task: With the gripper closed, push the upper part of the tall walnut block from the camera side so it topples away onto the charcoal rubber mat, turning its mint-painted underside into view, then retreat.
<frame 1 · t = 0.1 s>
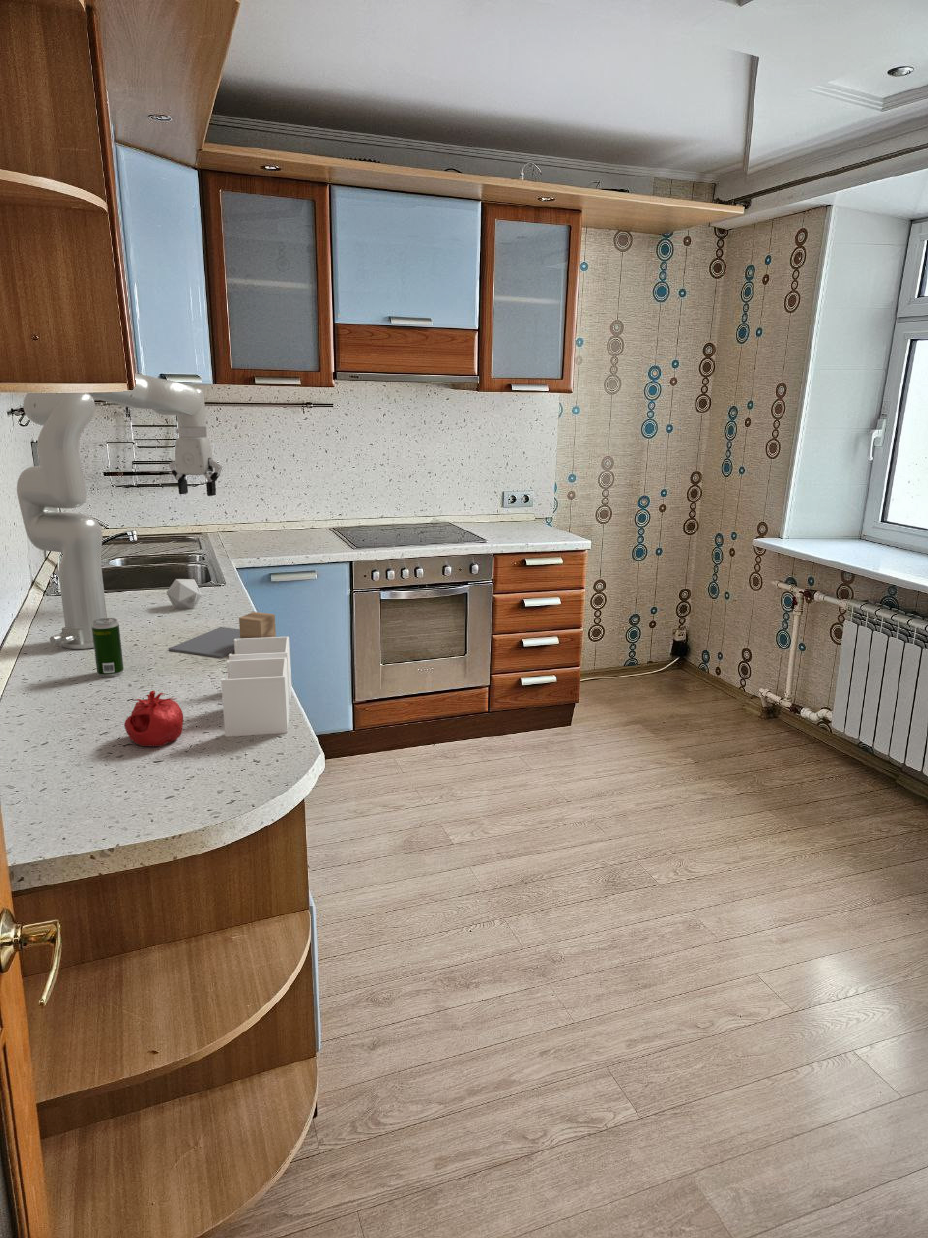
hand: (197, 494, 230), 31 cm above the countertop, fingers open, 9 cm apart
beer can: (110, 674, 176), on the countertop
block: (258, 647, 195), on the countertop
pomegranate: (156, 740, 143), on the countertop
die: (185, 608, 230), on the countertop
storage container: (261, 710, 157), on the countertop
mat: (221, 642, 198), on the countertop
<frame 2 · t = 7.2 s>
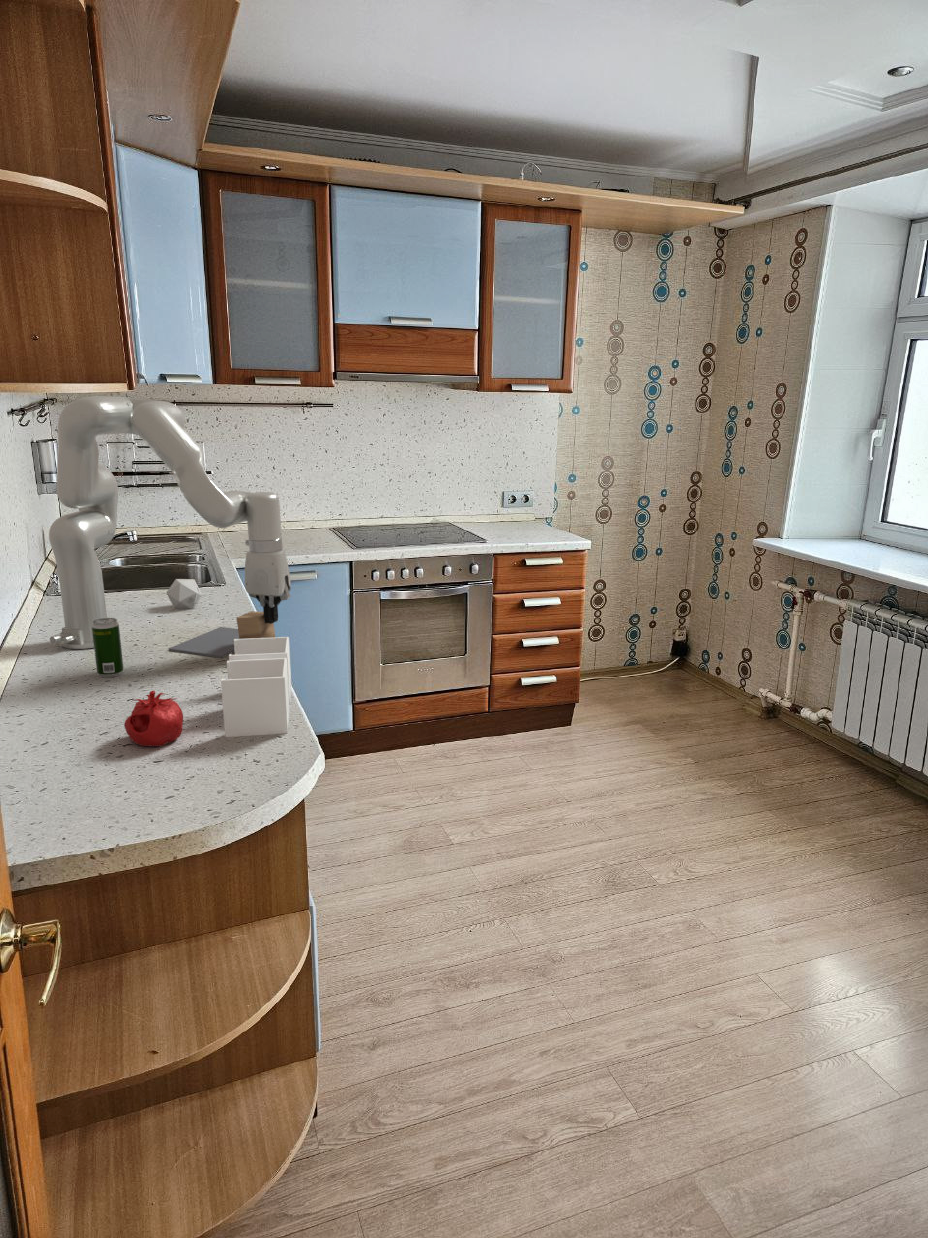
hand: (271, 621, 192), 7 cm above the countertop, fingers closed
block: (258, 646, 195), on the countertop, tilted 5°, touching gripper
everything else where it was.
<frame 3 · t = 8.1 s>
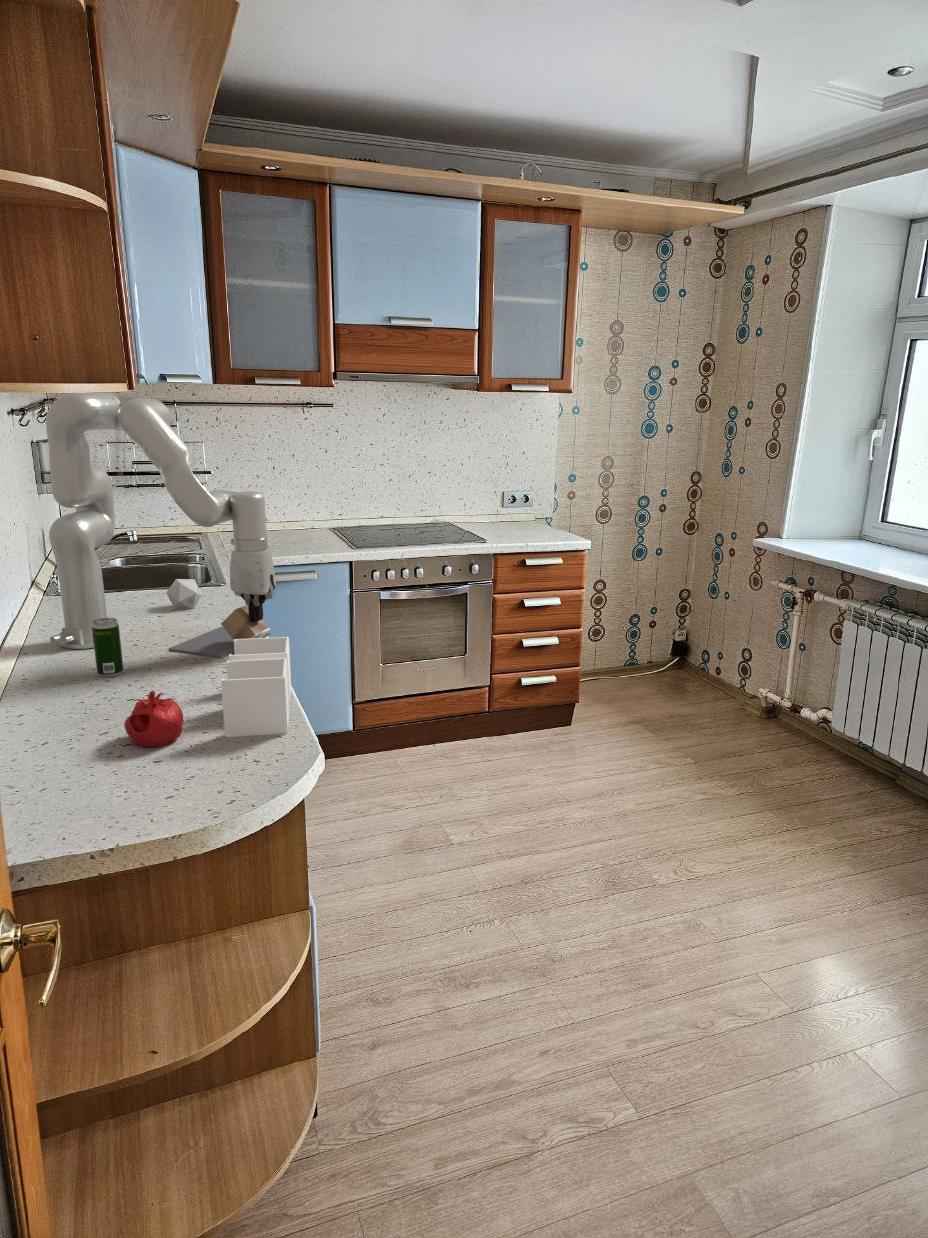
hand: (256, 620, 193), 7 cm above the countertop, fingers closed
block: (255, 639, 194), point 2 cm above the countertop, tilted 42°, touching gripper, mat
everything else where it was.
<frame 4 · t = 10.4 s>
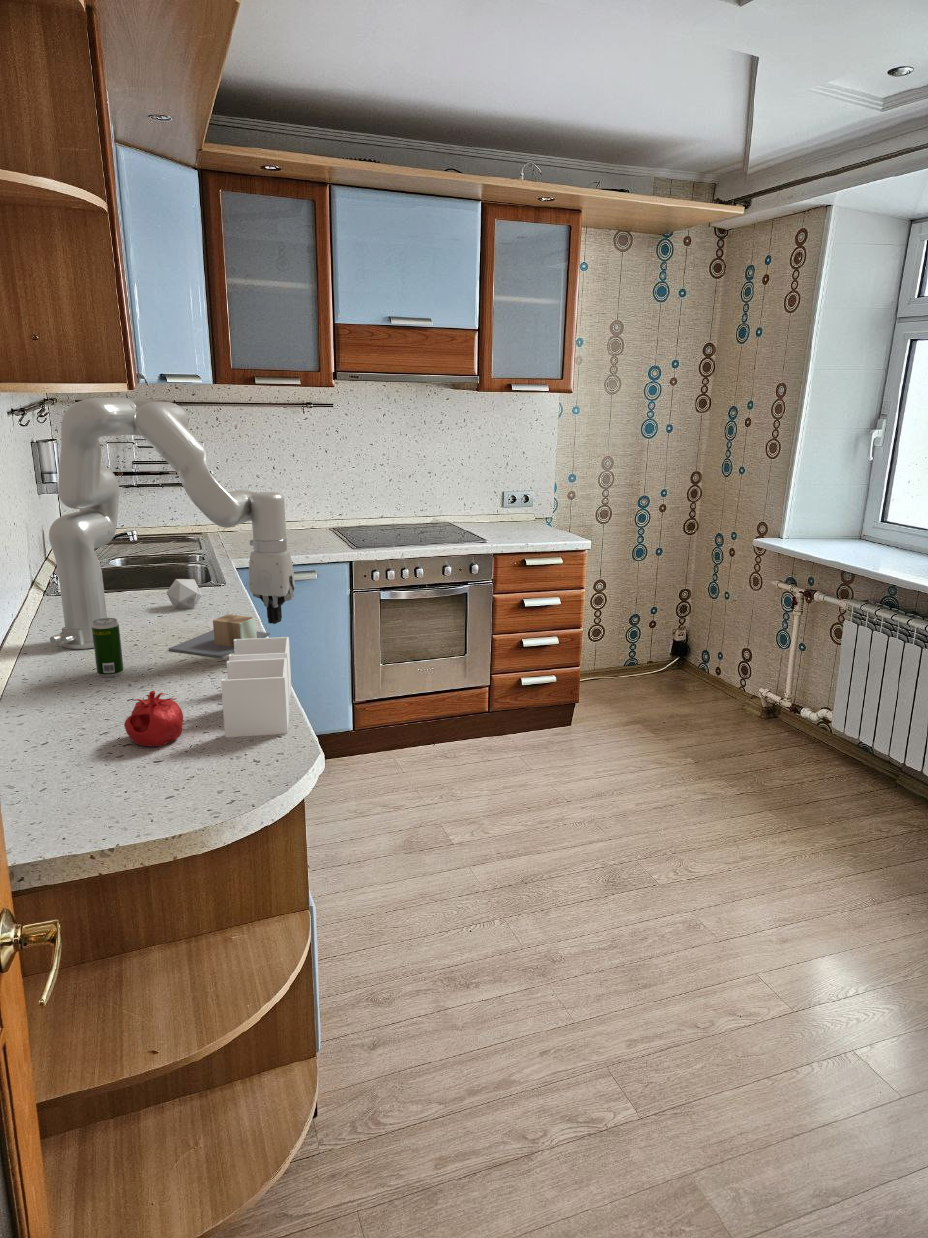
hand: (274, 622, 191), 7 cm above the countertop, fingers closed
block: (249, 632, 195), point 3 cm above the countertop, tilted 90°, touching mat
everything else where it was.
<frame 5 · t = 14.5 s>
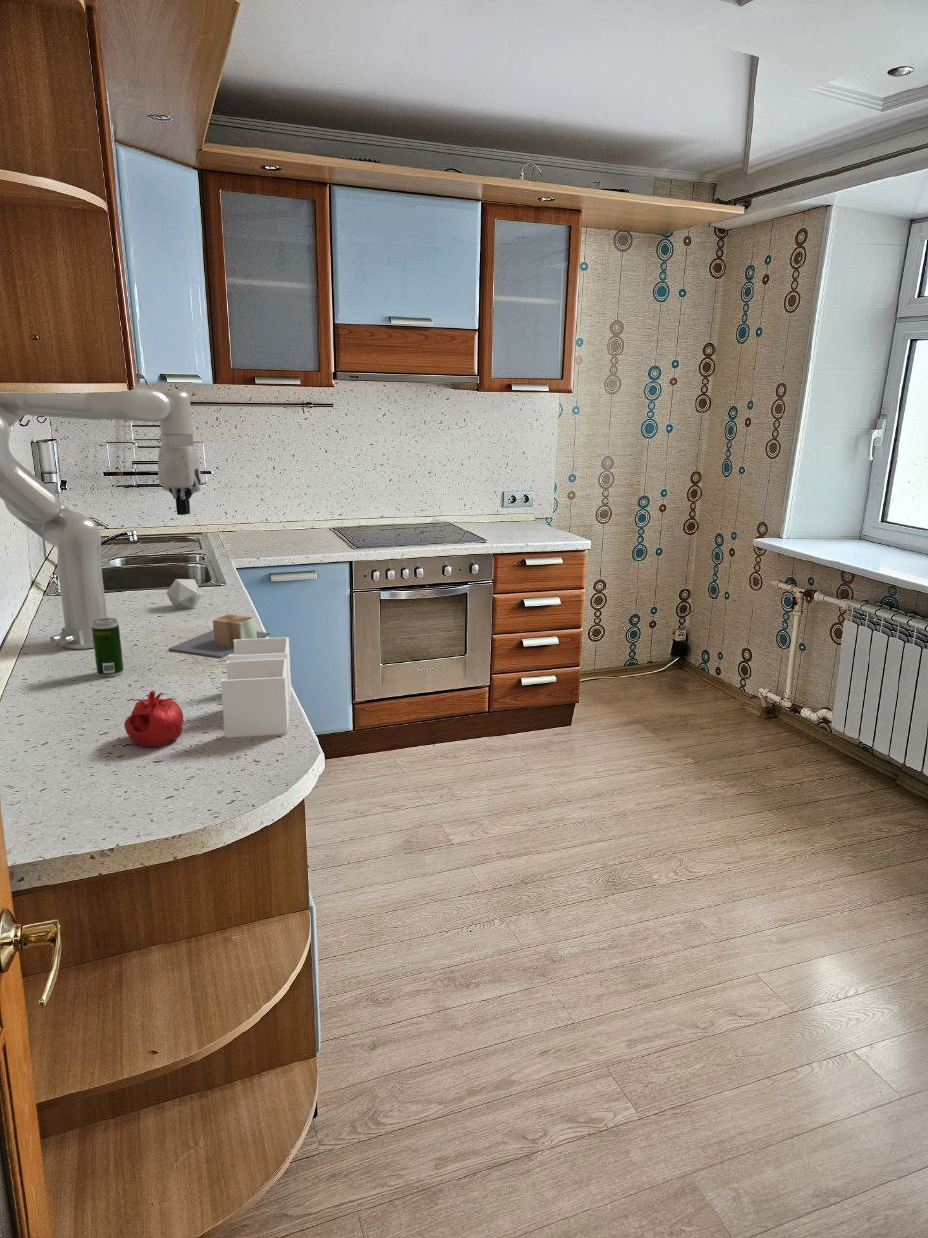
hand: (183, 514, 207), 29 cm above the countertop, fingers closed
nothing on the countertop moved.
at the end: block tilted 90°; block inside the target area on the mat (7.2 cm from its centre), point 3.5 cm above the mat's base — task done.
